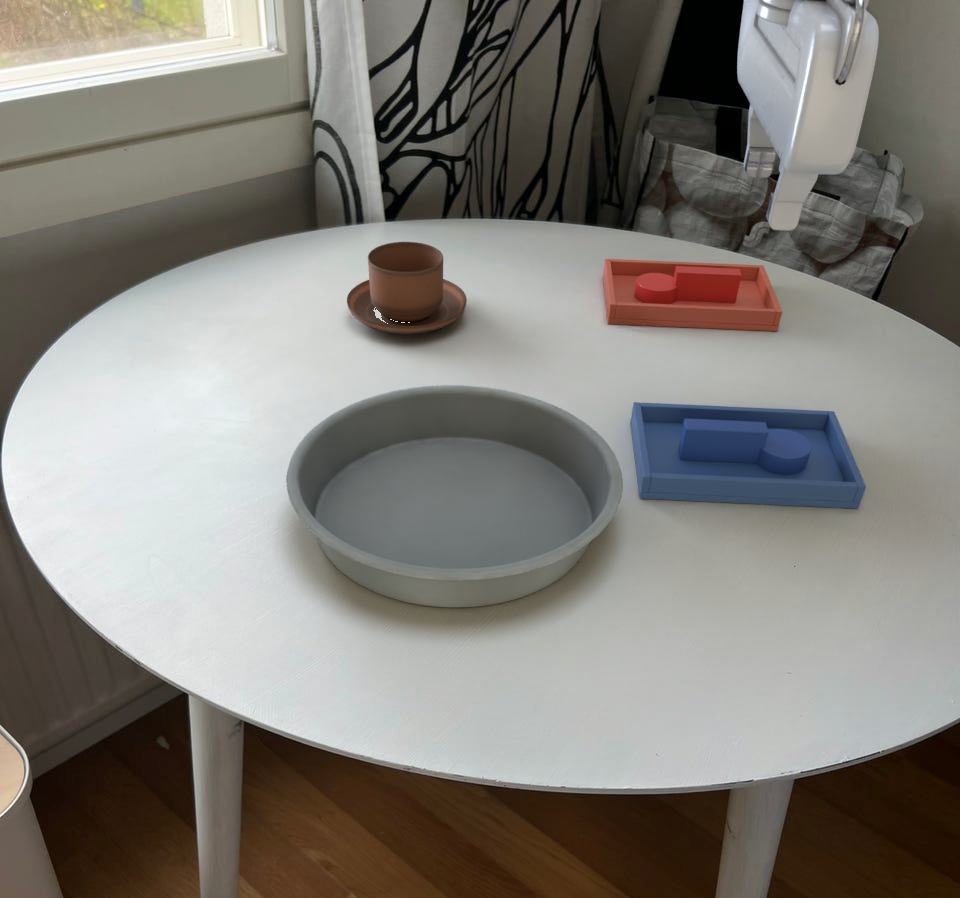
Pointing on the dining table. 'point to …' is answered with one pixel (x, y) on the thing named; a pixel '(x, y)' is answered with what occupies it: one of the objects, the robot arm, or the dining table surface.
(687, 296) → the red lever handle
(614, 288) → the tray red
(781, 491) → the tray blue
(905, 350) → the dining table surface
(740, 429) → the blue lever handle
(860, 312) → the dining table surface
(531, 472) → the cake pan
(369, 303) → the cup and saucer
